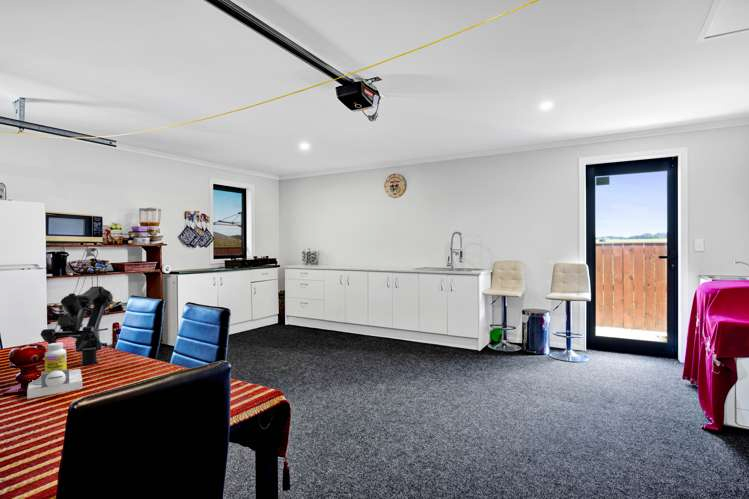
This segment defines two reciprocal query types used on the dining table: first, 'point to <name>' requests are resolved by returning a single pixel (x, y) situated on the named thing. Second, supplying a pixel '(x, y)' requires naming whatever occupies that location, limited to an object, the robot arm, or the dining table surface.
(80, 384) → the kitchen scale
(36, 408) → the dining table surface
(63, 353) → the supplement bottle
